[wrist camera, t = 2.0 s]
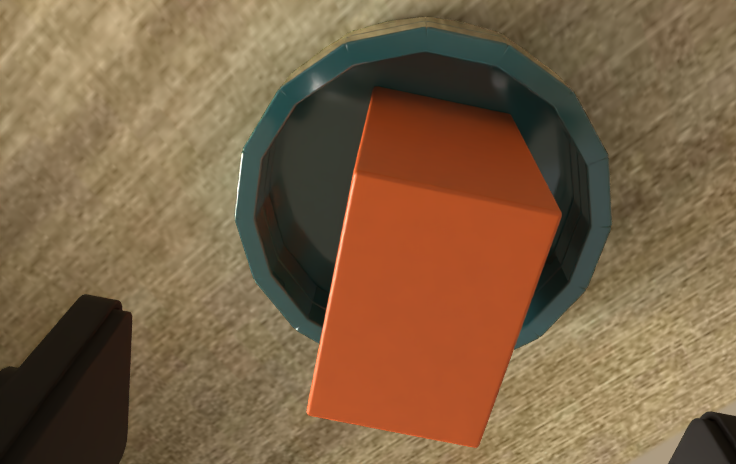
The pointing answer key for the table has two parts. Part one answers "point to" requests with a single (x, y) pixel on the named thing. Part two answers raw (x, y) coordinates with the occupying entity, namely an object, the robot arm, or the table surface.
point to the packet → (431, 269)
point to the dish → (342, 140)
